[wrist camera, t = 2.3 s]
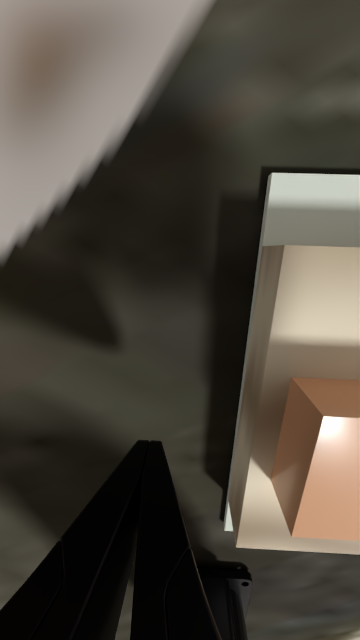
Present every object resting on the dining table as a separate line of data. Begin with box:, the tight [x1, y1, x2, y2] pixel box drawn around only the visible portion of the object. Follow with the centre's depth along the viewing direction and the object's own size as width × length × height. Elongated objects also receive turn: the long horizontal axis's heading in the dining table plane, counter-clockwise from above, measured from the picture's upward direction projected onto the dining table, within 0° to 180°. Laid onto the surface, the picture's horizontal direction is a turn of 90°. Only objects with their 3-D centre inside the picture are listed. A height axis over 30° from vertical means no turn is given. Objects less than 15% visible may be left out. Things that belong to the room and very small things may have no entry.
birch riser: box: [228, 245, 360, 554], centre depth 10 cm, size 14×9×2 cm, turn 178°
